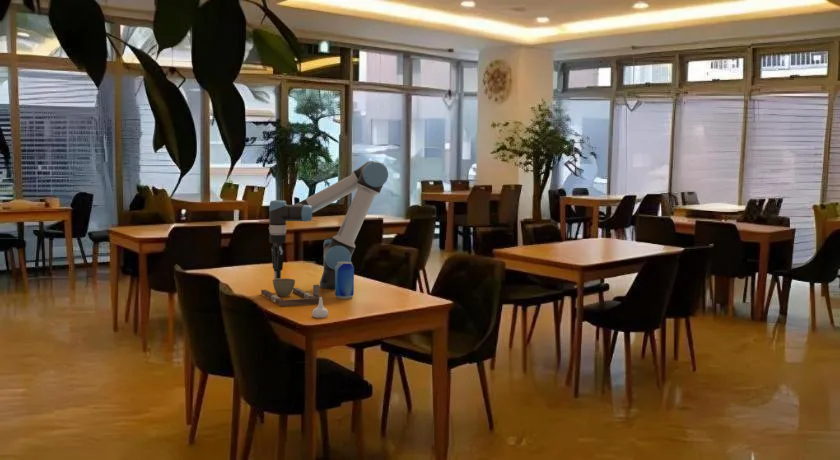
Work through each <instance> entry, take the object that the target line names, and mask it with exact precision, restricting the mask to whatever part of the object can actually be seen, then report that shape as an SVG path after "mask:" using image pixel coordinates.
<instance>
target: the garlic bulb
mask: <svg viewBox="0 0 840 460" xmlns="http://www.w3.org/2000/svg"><path fill="white" fill-rule="evenodd" d="M324 306H325V305H324V303H323V297H322V296H319V304H317V307H315V308H314V309H313V310H312V312H311V313H312V317H313V318H316V319H324V318H328V316H329V311H328V309H327V308H326V307H324Z"/></svg>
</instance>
